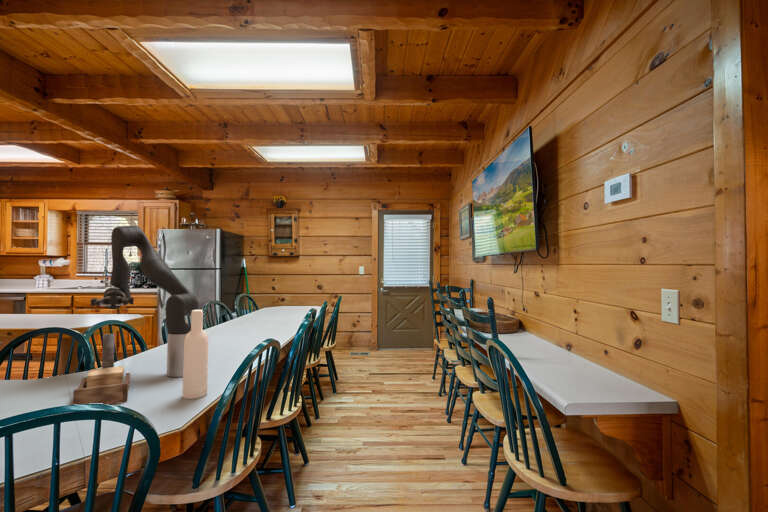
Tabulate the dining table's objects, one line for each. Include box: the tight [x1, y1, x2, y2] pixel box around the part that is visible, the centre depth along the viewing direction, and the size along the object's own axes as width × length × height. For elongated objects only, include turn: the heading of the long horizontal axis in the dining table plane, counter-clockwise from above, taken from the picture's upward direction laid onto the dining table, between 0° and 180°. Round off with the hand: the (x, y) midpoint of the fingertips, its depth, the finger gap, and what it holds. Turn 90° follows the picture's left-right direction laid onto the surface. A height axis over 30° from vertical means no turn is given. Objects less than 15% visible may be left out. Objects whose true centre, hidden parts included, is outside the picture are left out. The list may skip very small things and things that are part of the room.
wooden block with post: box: [86, 333, 125, 388], centre depth 137 cm, size 10×13×18 cm
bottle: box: [181, 309, 210, 400], centre depth 133 cm, size 8×8×30 cm
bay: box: [72, 372, 131, 405], centre depth 131 cm, size 14×20×6 cm
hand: (111, 303), depth 149 cm, fingers open, 8 cm apart
